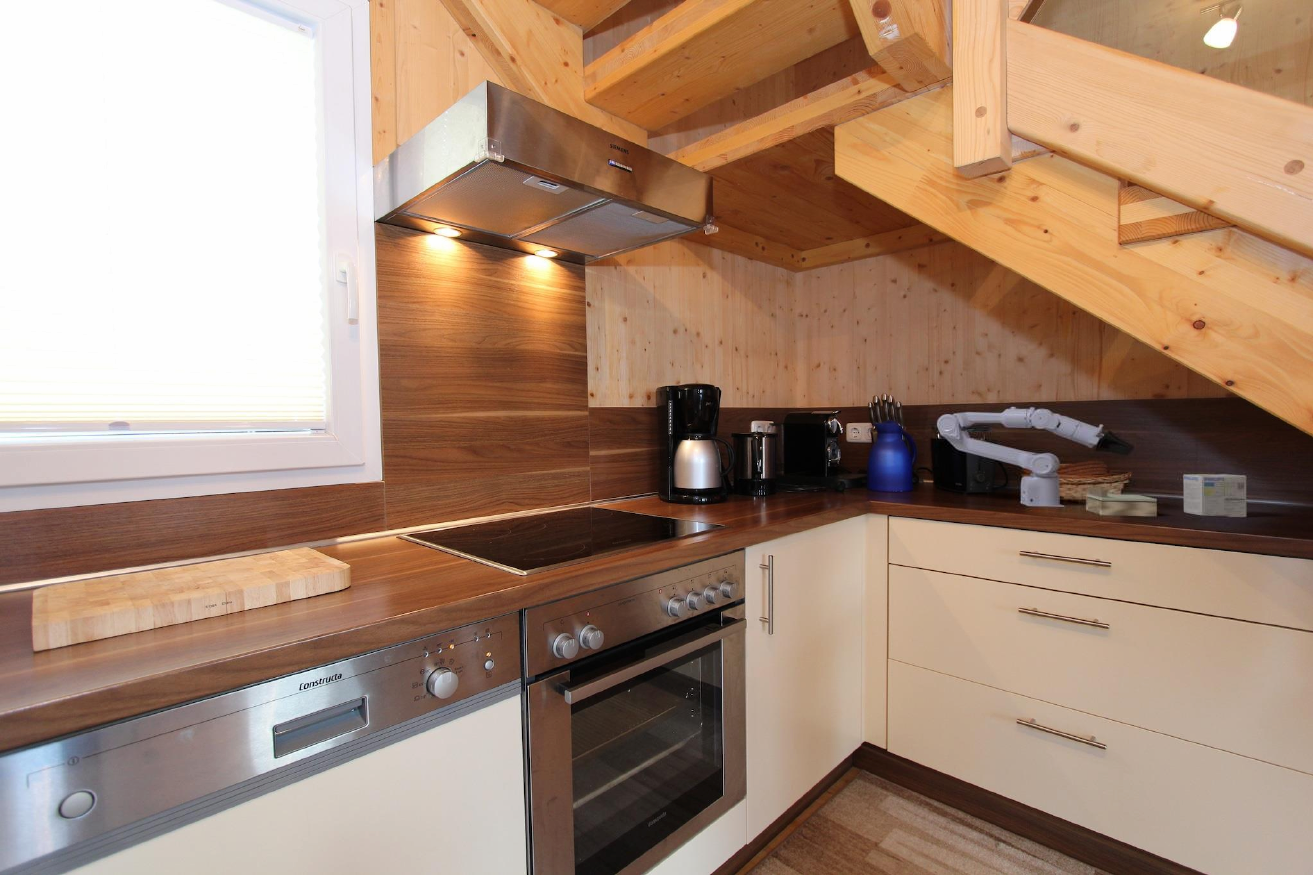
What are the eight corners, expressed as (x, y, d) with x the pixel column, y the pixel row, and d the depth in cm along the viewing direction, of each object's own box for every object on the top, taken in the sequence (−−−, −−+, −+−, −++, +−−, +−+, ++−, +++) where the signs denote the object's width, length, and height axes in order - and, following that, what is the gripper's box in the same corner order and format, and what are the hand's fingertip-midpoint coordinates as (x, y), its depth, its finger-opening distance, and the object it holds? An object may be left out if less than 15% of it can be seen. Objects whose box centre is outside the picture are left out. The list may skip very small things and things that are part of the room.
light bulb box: (1225, 513, 157) (1225, 473, 157) (1248, 517, 150) (1248, 475, 150) (1181, 513, 158) (1181, 473, 158) (1202, 517, 151) (1202, 475, 151)
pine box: (1101, 516, 155) (1101, 501, 154) (1086, 511, 164) (1086, 497, 164) (1156, 518, 151) (1156, 502, 151) (1137, 512, 161) (1137, 498, 161)
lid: (1101, 500, 154) (1101, 490, 154) (1086, 496, 164) (1085, 486, 164) (1156, 501, 151) (1156, 491, 151) (1137, 496, 161) (1137, 487, 161)
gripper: (1079, 419, 164) (1136, 439, 155) (1086, 417, 174) (1141, 436, 166) (1066, 442, 166) (1123, 463, 158) (1075, 439, 176) (1128, 458, 168)
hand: (1131, 450), depth 162 cm, fingers open, 7 cm apart
